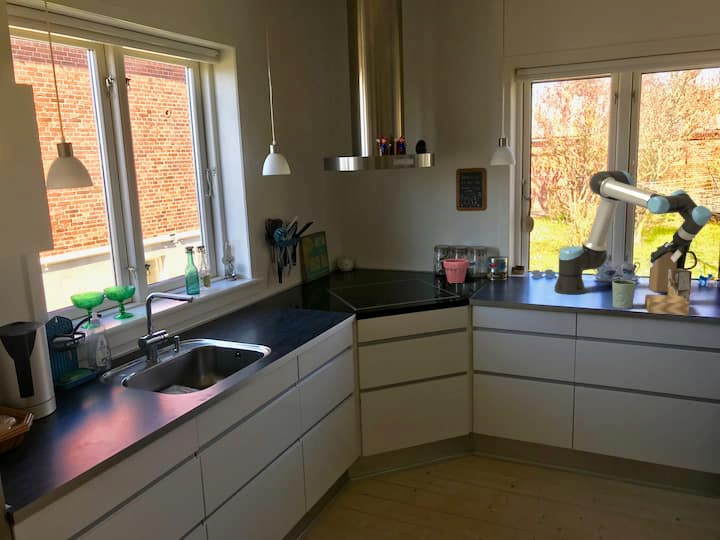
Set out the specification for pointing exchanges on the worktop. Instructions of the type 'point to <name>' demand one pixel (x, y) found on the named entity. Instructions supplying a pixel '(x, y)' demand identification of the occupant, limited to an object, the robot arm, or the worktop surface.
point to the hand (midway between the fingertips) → (661, 263)
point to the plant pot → (455, 270)
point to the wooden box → (666, 304)
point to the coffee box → (679, 283)
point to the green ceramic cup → (623, 293)
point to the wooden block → (661, 273)
